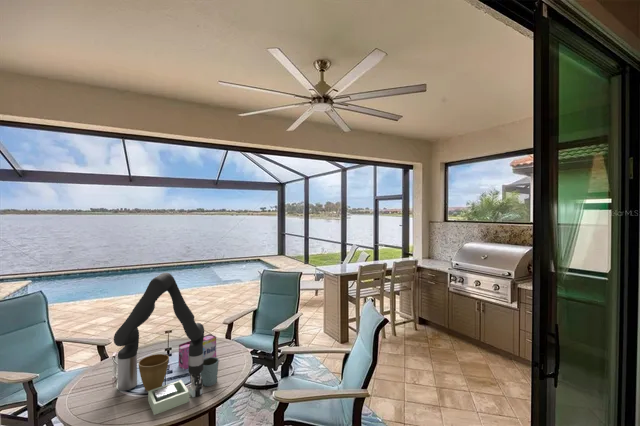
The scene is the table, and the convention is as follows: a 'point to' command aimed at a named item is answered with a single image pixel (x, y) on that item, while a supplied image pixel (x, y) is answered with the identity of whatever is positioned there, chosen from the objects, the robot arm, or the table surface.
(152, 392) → the tote
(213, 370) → the teal cup
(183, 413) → the table surface
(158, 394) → the tin block
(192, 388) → the off-white carton
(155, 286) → the robot arm
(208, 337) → the gum box
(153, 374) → the plant pot
